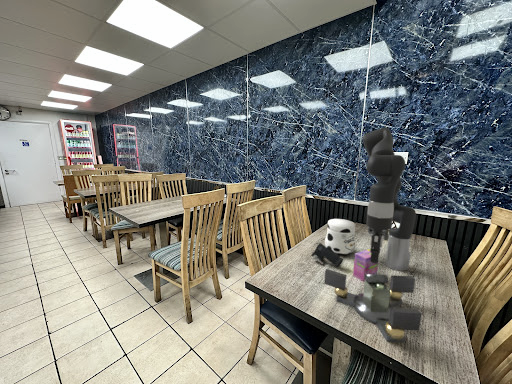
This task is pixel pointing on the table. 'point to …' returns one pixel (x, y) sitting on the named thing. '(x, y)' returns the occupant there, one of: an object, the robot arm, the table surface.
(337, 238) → the milk container
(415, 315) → the knob
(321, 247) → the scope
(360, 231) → the table surface
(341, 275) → the grey upright plank
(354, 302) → the tribrach
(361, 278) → the box
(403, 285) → the knob
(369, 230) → the camera
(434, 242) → the table surface
